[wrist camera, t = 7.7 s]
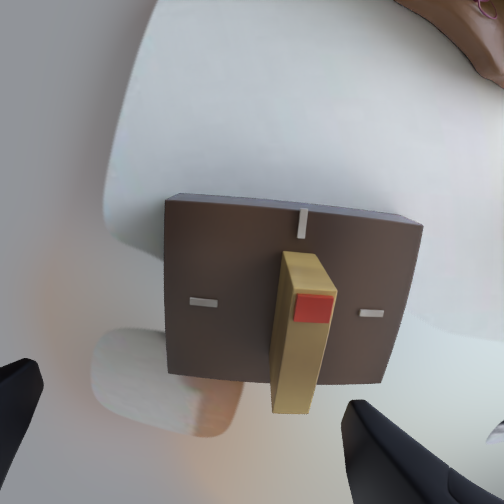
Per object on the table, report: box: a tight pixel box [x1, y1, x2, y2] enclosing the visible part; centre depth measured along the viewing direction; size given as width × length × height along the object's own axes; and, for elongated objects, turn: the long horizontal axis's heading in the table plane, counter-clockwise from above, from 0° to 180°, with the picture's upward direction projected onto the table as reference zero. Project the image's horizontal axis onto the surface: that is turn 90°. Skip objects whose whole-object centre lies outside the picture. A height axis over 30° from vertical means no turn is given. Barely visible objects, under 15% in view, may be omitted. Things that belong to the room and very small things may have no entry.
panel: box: [164, 193, 423, 385], centre depth 17 cm, size 13×10×3 cm
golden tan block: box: [269, 251, 337, 414], centre depth 14 cm, size 6×2×5 cm, turn 175°
